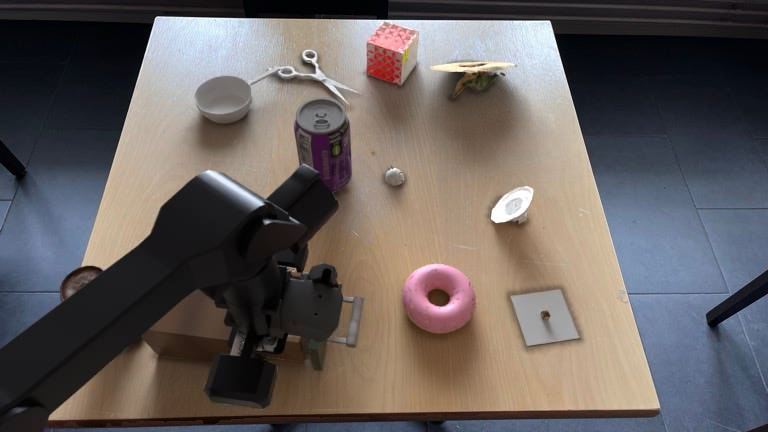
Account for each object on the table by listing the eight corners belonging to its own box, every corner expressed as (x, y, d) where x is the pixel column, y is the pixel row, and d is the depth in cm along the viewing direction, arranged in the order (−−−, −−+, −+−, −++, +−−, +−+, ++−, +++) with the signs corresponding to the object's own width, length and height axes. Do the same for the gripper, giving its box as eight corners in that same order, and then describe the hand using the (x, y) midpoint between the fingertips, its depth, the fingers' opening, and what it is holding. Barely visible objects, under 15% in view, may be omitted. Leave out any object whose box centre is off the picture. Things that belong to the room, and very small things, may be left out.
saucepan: (189, 104, 102) (183, 88, 99) (268, 68, 109) (265, 52, 106) (215, 135, 97) (210, 120, 94) (296, 96, 104) (294, 80, 101)
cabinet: (281, 288, 79) (272, 256, 71) (260, 369, 72) (247, 343, 64) (188, 277, 80) (169, 243, 72) (158, 355, 73) (132, 328, 65)
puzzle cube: (400, 85, 107) (403, 53, 100) (366, 74, 108) (366, 41, 102) (416, 63, 111) (419, 31, 104) (383, 52, 113) (384, 20, 106)
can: (143, 351, 73) (102, 307, 62) (98, 350, 73) (47, 306, 61) (155, 311, 76) (117, 263, 65) (111, 310, 76) (66, 262, 65)
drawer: (366, 300, 77) (366, 274, 71) (354, 375, 71) (353, 354, 64) (248, 285, 78) (237, 258, 72) (225, 358, 72) (211, 336, 65)
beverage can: (354, 194, 90) (352, 133, 78) (302, 198, 89) (292, 137, 77) (349, 156, 95) (347, 92, 83) (301, 159, 94) (291, 96, 82)
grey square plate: (560, 289, 80) (564, 283, 79) (579, 338, 76) (583, 333, 74) (510, 296, 79) (513, 290, 78) (527, 345, 75) (530, 341, 73)
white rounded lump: (390, 169, 93) (391, 159, 91) (409, 179, 92) (410, 169, 90) (380, 180, 92) (380, 170, 90) (399, 190, 91) (400, 181, 89)
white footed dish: (508, 234, 90) (517, 240, 82) (485, 215, 90) (492, 219, 82) (539, 200, 90) (552, 202, 82) (516, 180, 90) (527, 180, 82)
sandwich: (462, 82, 117) (469, 47, 114) (516, 100, 109) (526, 63, 105) (409, 91, 105) (414, 52, 102) (465, 112, 97) (473, 71, 93)
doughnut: (422, 260, 83) (424, 246, 79) (485, 292, 80) (490, 279, 76) (387, 314, 77) (388, 302, 74) (454, 351, 74) (458, 340, 71)
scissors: (303, 45, 112) (374, 85, 105) (304, 48, 113) (374, 88, 106) (267, 69, 107) (339, 113, 100) (268, 72, 108) (339, 116, 101)
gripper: (313, 390, 43) (324, 437, 55) (351, 210, 54) (353, 283, 66) (181, 371, 43) (222, 422, 56) (245, 197, 54) (267, 272, 67)
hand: (272, 344), depth 61 cm, fingers closed
